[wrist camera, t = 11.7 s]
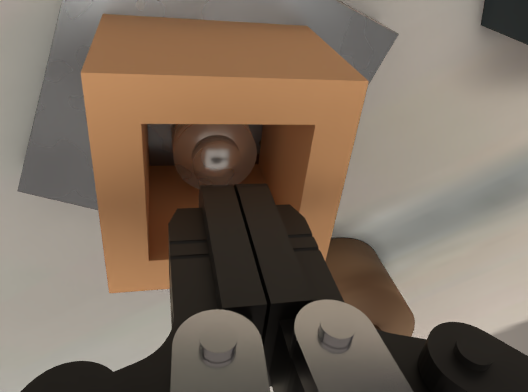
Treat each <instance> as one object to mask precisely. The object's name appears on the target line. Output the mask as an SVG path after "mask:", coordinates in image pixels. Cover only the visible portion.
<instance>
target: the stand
mask: <svg viewBox="0 0 528 392" xmlns="http://www.w3.org/2000/svg"><path fill="white" fill-rule="evenodd" d="M325 262H326V264H327V266H328V268H329V270H330V272H331V274H332V277H333V279H334V281H335V283H336V285H337V287H338V289H339V292H340V294H341V296H342V298H343V300H344V302H345V303H347V304H349V305H351V306H353V307H355V308H357V309H358V310H360V311H361V312H362V313H364V314H365V315H366V316H367V317H368V318H369V320H370V321H371V322H372V324H373V325H374V327H375V328H376V329H378V330H381V331H384V332H388V333H393V334H398V335H404V336H409V337H411V336H412V333H413V330H414V325H415V320H414V316H413V313H412V312H411V310H410V308H409V307H408V305H407V303H406V302H405V300H404V299H403V297H402V295H401V294H400V292H399V290H398V289H397V287H396V285H395V284H394V282H393V281H392V279H391V277H390V276H389V274H388V272H387V271H386V269H385V267H384V266H383V264H382V263H381V261H380V259H379V258H378V256H377V254H376V253H375V251H374V250H373V249H372V248H371V247H370V246H369V245H368V244H366V243H364V242H362V241H359V240H356V239H351V238H335V239H331V240H330V244H329V248H328V253H327V257H326V261H325Z"/></svg>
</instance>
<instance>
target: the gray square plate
mask: <svg viewBox="0 0 528 392" xmlns="http://www.w3.org/2000/svg"><path fill="white" fill-rule="evenodd" d="M103 14H114V15H131V16H148V17H165V18H182V19H199V20H216V21H233V22H250V23H267V24H284V25H301V26H308V27H309V28H310V29H311V30H312V31H313V32H315V33H316V34H317V35H318V36H319V37H320V38H321V39H322V40H324V41H325V42H326V43H327V44H328V45H329V46H330V47H331V48H332V49H334V50H335V51H336V52H337V53H338V54H339V55H340V56H341V57H342V58H344V59H345V60H346V61H347V62H348V63H349V64H350V65H351V66H352V67H354V68H355V69H356V70H357V71H358V72H359V73H360V74H361V75H362V76H364V77H365V78H366V79H367V80H368V81H369V82H368V85H369V83H370V81H371V80H372V78H373V76H374V75H375V73H376V71H377V70H378V68H379V66H380V65H381V63H382V61H383V59H384V58H385V56H386V54H387V53H388V51H389V49H390V48H391V46H392V44H393V43H394V41H395V39H396V38H397V36H398V33H396V32H394V31H393V30H391V29H389V28H388V27H386V26H384V25H383V24H381V23H379V22H377V21H375V20H374V19H372V18H370V17H368V16H366V15H364V14H362V13H361V12H359V11H357V10H355V9H353V8H351V7H349V6H347V5H346V4H344V3H342V2H340V1H338V0H62V3H61V8H60V12H59V16H58V20H57V25H56V29H55V33H54V37H53V42H52V46H51V50H50V54H49V59H48V63H47V67H46V72H45V76H44V80H43V84H42V89H41V93H40V97H39V101H38V106H37V110H36V114H35V118H34V123H33V127H32V131H31V136H30V140H29V144H28V148H27V153H26V157H25V161H24V165H23V170H22V174H21V178H20V182H19V187H18V191H19V192H23V193H28V194H32V195H36V196H40V197H45V198H49V199H53V200H57V201H62V202H66V203H70V204H74V205H79V206H83V207H87V208H91V209H95V210H98V203H97V195H96V187H95V180H94V172H93V164H92V157H91V149H90V141H89V134H88V126H87V118H86V110H85V103H84V95H83V87H82V80H81V70H82V67H83V65H84V62H85V60H86V57H87V54H88V52H89V49H90V46H91V44H92V41H93V38H94V36H95V33H96V30H97V28H98V25H99V22H100V20H101V17H102V15H103ZM147 126H148V147H149V166H175V168H176V170H177V172H178V174H179V175H180V177H181V178H182V179H183V180H184V181H185V182H186V183H188V184H189V185H191V186H193V187H195V188H197V189H199V188H200V185H227V184H232V185H233V186H234V184H239V183H240V182H242V181H243V180H244V179H245V178H246V177H247V176H248V175H249V174H250V172H251V171H252V169H253V167H254V165H255V164H259V155H260V146H261V137H262V128H263V125H260V124H147Z"/></svg>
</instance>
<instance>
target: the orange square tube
mask: <svg viewBox="0 0 528 392" xmlns="http://www.w3.org/2000/svg"><path fill="white" fill-rule="evenodd" d="M81 80H82V87H83V95H84V103H85V110H86V118H87V126H88V134H89V141H90V149H91V157H92V164H93V172H94V180H95V187H96V195H97V203H98V210H99V218H100V226H101V233H102V241H103V249H104V256H105V264H106V272H107V279H108V287H109V293H119V292H132V291H145V290H158V289H170V284H169V240H168V223H169V222H170V220H171V218H172V217H173V215H174V213H175V212H176V210H177V208H199V189H197V188H195V187H193V186H191V185H189V184H188V183H186V182H185V181H184V180H183V179H182V178H181V177H180V175H179V174H178V172H177V170H176V168H175V166H149V147H148V126H147V124H260V125H263V128H262V137H261V146H260V155H259V164H255V165H254V167H253V169H252V171H251V172H250V174H249V175H248V176H247V177H246V178H245V179H244V180H243V181H242V182H240V183H239V184H264V183H266V184H267V185H268V187H269V189H270V192H271V194H272V197H273V199H274V202H275V204H276V205H285V204H290V205H291V206H292V207H293V208H294V209H296V210H297V211H298V212H299V213H300V214H301V215H302V216H304V217H305V219H306V221H307V223H308V225H309V228H310V230H311V232H312V237H314V238H315V240H316V242H317V245H318V249H319V250H320V251H321V253H322V255H323V257H324V260H325V261H326V257H327V253H328V248H329V244H330V240H331V236H332V232H333V228H334V224H335V219H336V215H337V211H338V207H339V203H340V199H341V194H342V190H343V186H344V182H345V178H346V174H347V170H348V165H349V161H350V157H351V153H352V149H353V145H354V141H355V136H356V132H357V128H358V124H359V120H360V116H361V111H362V107H363V103H364V99H365V95H366V91H367V87H368V82H369V81H368V80H367V79H366V78H365V77H364V76H362V75H361V74H360V73H359V72H358V71H357V70H356V69H355V68H354V67H352V66H351V65H350V64H349V63H348V62H347V61H346V60H345V59H344V58H342V57H341V56H340V55H339V54H338V53H337V52H336V51H335V50H334V49H332V48H331V47H330V46H329V45H328V44H327V43H326V42H325V41H324V40H322V39H321V38H320V37H319V36H318V35H317V34H316V33H315V32H313V31H312V30H311V29H310V28H309V27H308V26H301V25H284V24H267V23H250V22H233V21H216V20H199V19H182V18H165V17H148V16H131V15H114V14H103V15H102V17H101V20H100V22H99V25H98V28H97V30H96V33H95V36H94V38H93V41H92V44H91V46H90V49H89V52H88V54H87V57H86V60H85V62H84V65H83V67H82V70H81Z"/></svg>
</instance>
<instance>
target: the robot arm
mask: <svg viewBox="0 0 528 392" xmlns="http://www.w3.org/2000/svg"><path fill="white" fill-rule="evenodd" d="M168 240H169V284H170V303H171V322H172V330H171V332H170V334H169V336H168V338H167V339H166V341H165V342H164V343H163V344H162V346H161V347H160V348H159V349H157V350H156V351H155V352H154V353H153V354H151V355H150V356H148V357H147V358H145V359H143V360H141V361H139V362H137V363H134V364H132V365H129V366H127V367H124V368H122V369H120V370H117V371H115V372H113V371H112V370H110V369H109V368H107V367H106V366H103V365H101V364H99V363H95V362H89V361H75V362H69V363H64V364H62V365H59V366H56V367H53V368H51V369H49V370H47V371H45V372H44V373H42V374H41V375H39V376H38V377H36V378H35V379H34V380H33V381H32V382H30V383H29V384H28V385H27V386H26V387H25V388H24V389H23V390H22V391H21V392H270V386H272V387H273V391H274V392H528V356H527V355H525V354H523V353H521V352H520V351H518V350H516V349H514V348H512V347H511V346H509V345H507V344H505V343H504V342H502V341H500V340H498V339H497V338H495V337H493V336H492V335H490V334H488V333H486V332H485V331H483V330H481V329H479V328H477V327H474V326H471V325H468V324H465V323H459V322H447V323H442V324H439V325H437V326H436V327H434V328H433V330H432V331H431V332H430V334H429V336H428V338H427V340H426V339H420V338H415V337H409V336H404V335H398V334H393V333H388V332H384V331H381V330H378V329H376V328H375V327H374V325H373V324H372V322H371V321H370V320H369V318H368V317H367V316H366V315H365V314H364V313H362V312H361V311H360V310H358V309H357V308H355V307H353V306H351V305H349V304H347V303H345V302H344V300H343V298H342V296H341V294H340V292H339V289H338V287H337V285H336V283H335V281H334V279H333V277H332V274H331V272H330V270H329V268H328V266H327V264H326V262H325V260H324V257H323V255H322V253H321V251H320V250H319V249H318V245H317V242H316V240H315V238H314V237H312V232H311V230H310V228H309V225H308V223H307V221H306V219H305V217H304V216H302V215H301V214H300V213H299V212H298V211H297V210H296V209H294V208H293V207H292V206H291V205H290V204H285V205H276V204H275V202H274V199H273V197H272V194H271V192H270V189H269V187H268V185H267V184H266V183H264V184H234V186H233V185H232V184H227V185H200V188H199V208H177V210H176V212H175V213H174V215H173V217H172V218H171V220H170V222H169V223H168Z"/></svg>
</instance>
